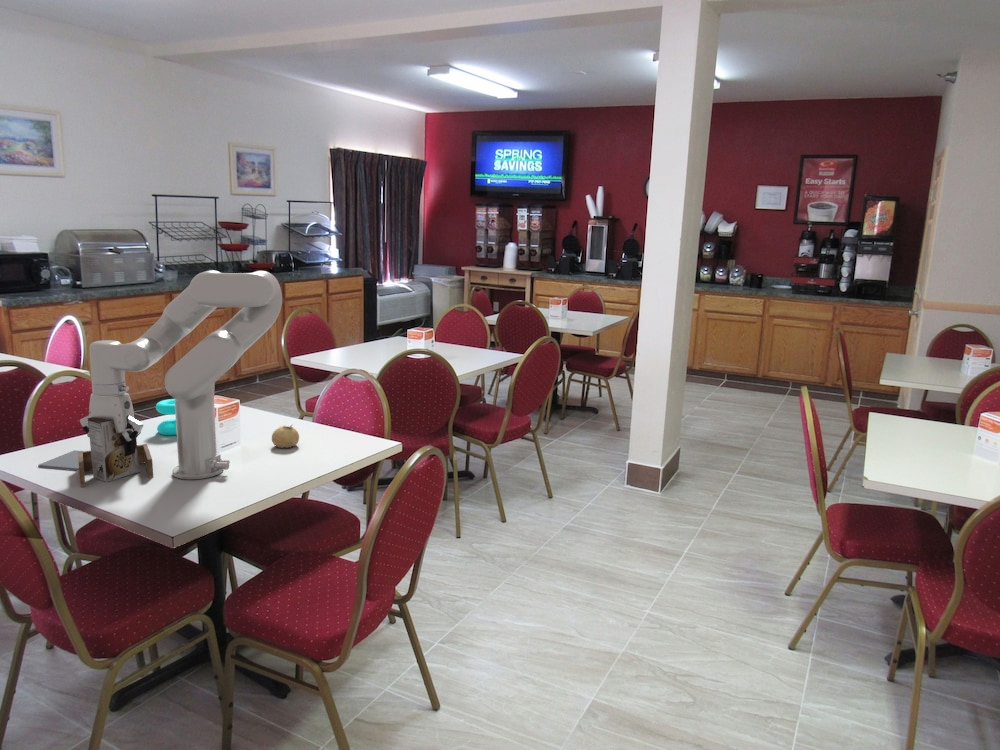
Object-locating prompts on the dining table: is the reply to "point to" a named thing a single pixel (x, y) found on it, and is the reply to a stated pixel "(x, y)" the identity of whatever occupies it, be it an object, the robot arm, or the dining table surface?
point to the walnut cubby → (86, 464)
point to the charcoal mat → (64, 461)
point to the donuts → (168, 409)
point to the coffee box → (110, 451)
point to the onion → (285, 436)
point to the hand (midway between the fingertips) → (113, 452)
